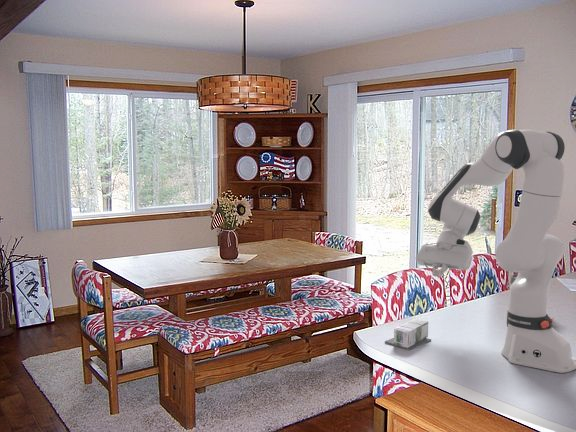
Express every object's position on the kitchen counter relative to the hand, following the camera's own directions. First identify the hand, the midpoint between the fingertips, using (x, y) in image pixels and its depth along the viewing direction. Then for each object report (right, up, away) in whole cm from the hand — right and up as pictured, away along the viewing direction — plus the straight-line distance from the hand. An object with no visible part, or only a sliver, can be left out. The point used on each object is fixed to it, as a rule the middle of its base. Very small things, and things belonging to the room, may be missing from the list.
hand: (436, 275), depth 208 cm
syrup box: (-6, -18, -5) cm, 19 cm away
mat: (-12, -22, -10) cm, 27 cm away
